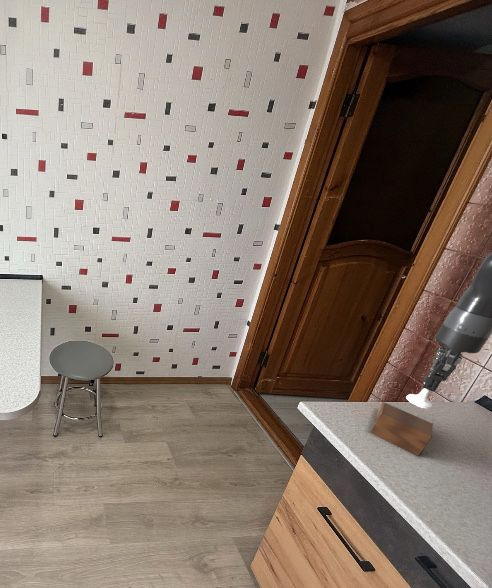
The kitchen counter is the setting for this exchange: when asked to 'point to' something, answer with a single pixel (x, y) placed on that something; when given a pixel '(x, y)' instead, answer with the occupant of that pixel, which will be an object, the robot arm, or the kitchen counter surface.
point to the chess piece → (420, 399)
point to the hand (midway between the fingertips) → (428, 386)
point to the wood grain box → (401, 428)
